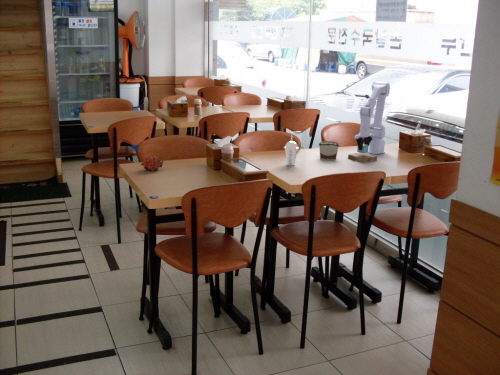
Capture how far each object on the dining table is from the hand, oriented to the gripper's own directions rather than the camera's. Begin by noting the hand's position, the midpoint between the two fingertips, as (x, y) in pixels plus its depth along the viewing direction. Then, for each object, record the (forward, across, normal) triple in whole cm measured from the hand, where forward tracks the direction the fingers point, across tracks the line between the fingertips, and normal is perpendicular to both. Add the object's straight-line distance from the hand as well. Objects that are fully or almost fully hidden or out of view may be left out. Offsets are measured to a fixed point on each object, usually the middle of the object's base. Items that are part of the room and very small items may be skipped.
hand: (363, 149), depth 322 cm
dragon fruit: (+6, +117, -43) cm, 125 cm away
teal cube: (+2, 0, 0) cm, 2 cm away
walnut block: (+6, 0, 0) cm, 6 cm away
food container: (+6, +16, -13) cm, 22 cm away
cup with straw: (+6, +46, -12) cm, 48 cm away
